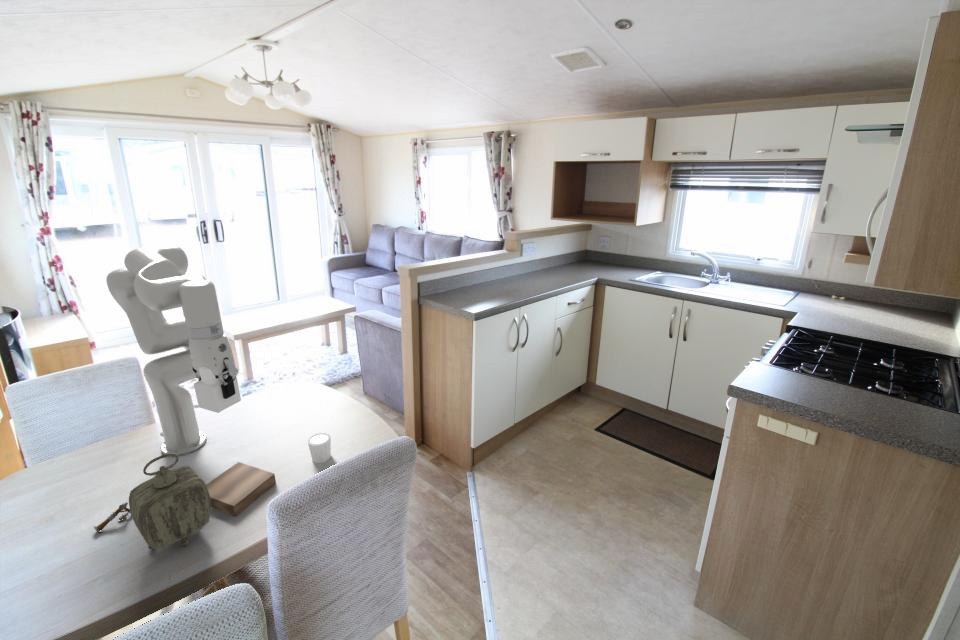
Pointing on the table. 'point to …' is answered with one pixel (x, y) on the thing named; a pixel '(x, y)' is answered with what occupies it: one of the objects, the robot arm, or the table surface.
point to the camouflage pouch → (169, 505)
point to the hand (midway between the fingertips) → (218, 393)
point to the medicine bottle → (213, 392)
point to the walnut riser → (239, 488)
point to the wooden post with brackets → (112, 516)
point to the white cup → (320, 447)
